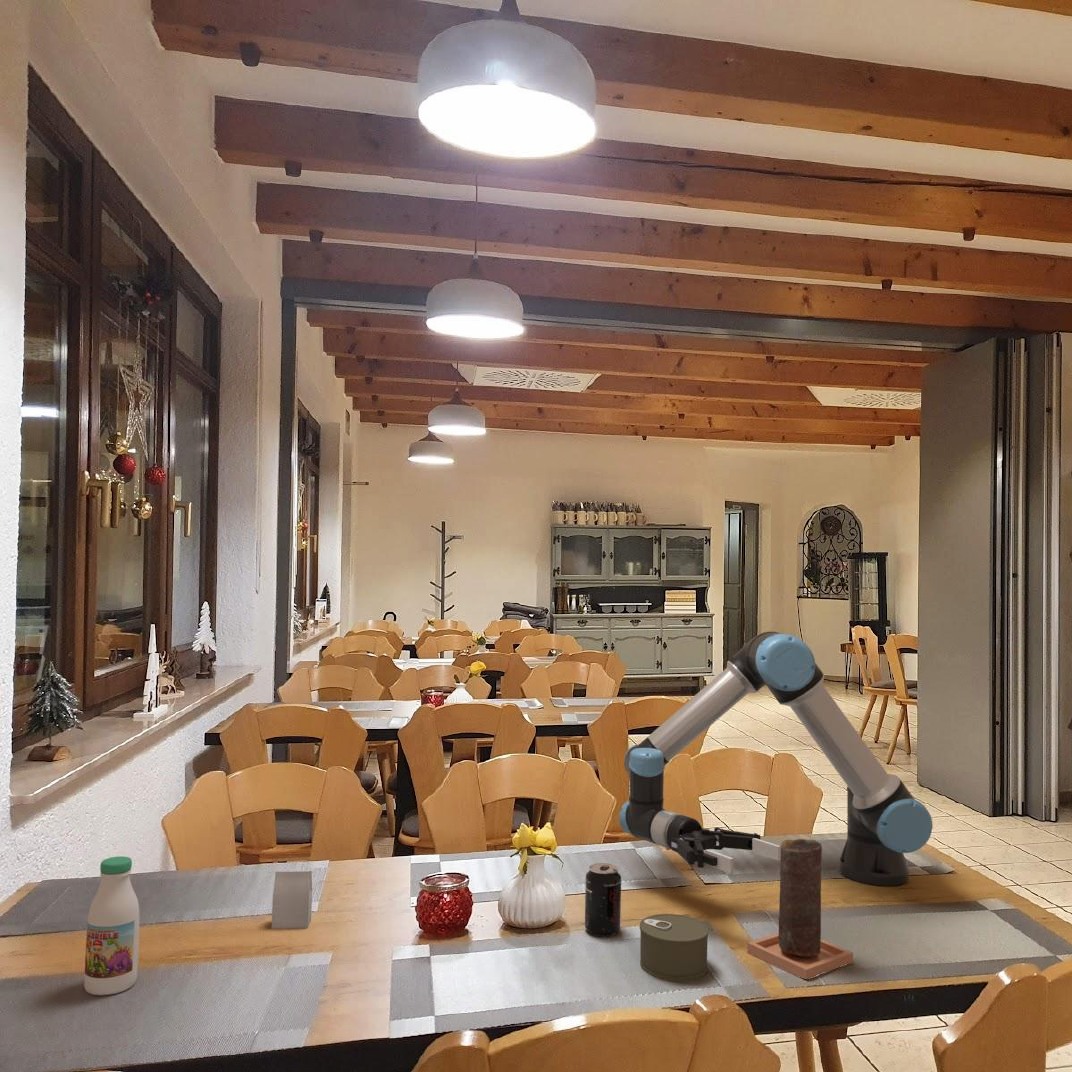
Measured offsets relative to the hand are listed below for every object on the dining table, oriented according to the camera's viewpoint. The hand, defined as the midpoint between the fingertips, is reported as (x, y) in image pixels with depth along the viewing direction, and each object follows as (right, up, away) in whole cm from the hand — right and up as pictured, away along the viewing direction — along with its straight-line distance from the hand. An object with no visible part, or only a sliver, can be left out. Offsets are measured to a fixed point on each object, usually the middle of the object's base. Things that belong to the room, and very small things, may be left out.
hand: (756, 859), depth 167 cm
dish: (+5, -14, -10) cm, 18 cm away
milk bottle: (-111, -11, -26) cm, 115 cm away
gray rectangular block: (-89, -13, 0) cm, 90 cm away
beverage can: (-30, -14, 0) cm, 33 cm away
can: (-18, -14, -14) cm, 27 cm away
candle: (+5, -14, -10) cm, 18 cm away
